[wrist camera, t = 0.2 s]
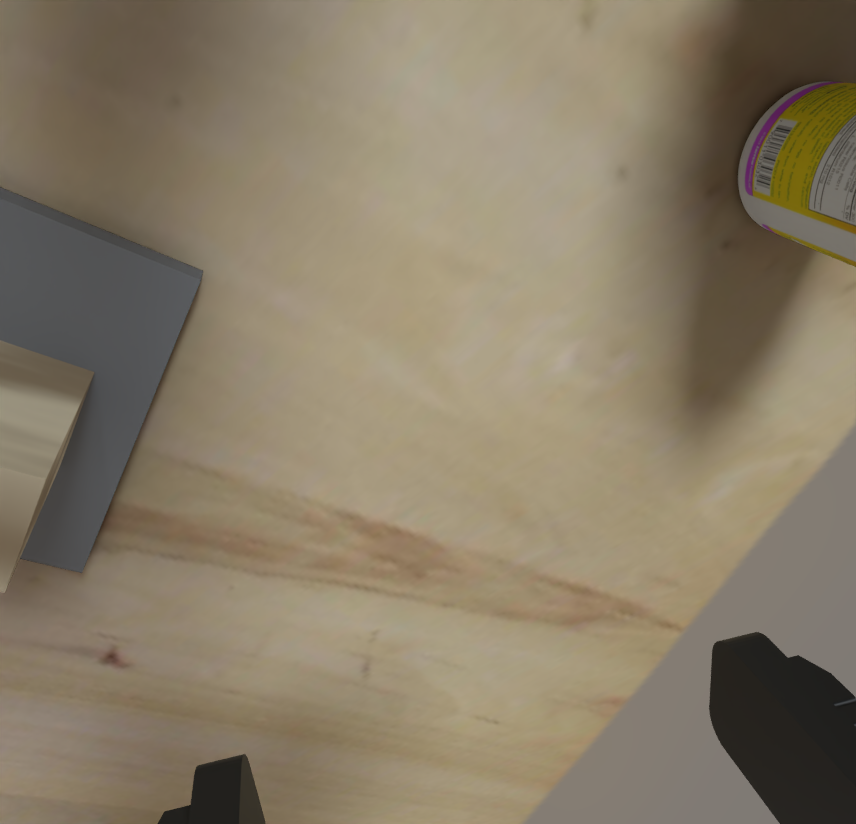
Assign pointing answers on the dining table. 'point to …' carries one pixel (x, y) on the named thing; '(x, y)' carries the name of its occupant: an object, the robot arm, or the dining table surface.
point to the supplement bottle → (805, 169)
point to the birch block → (32, 439)
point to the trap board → (88, 351)
